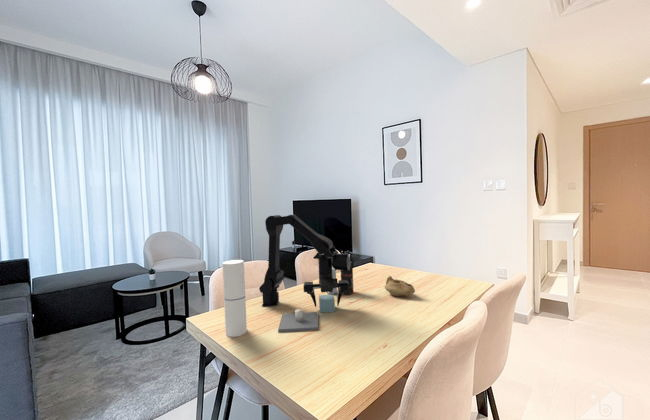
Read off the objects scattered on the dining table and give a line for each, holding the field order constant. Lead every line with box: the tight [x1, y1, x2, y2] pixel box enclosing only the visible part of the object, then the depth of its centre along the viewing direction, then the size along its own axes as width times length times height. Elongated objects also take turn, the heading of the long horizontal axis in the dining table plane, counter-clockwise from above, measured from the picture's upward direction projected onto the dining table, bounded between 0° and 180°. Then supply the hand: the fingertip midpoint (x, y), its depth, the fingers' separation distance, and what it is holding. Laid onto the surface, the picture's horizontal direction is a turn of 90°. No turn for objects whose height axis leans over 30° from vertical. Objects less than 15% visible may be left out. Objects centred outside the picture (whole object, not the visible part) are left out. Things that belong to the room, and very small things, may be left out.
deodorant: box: [340, 261, 354, 296], centre depth 140 cm, size 6×6×15 cm
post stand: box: [277, 308, 319, 333], centre depth 107 cm, size 14×14×5 cm
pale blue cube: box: [318, 294, 336, 313], centre depth 119 cm, size 6×6×5 cm
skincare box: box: [327, 266, 338, 295], centre depth 141 cm, size 6×4×12 cm
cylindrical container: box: [221, 259, 248, 338], centre depth 101 cm, size 7×7×25 cm
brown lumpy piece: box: [384, 275, 416, 297], centre depth 134 cm, size 11×15×8 cm
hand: (326, 306), depth 119 cm, fingers open, 9 cm apart
